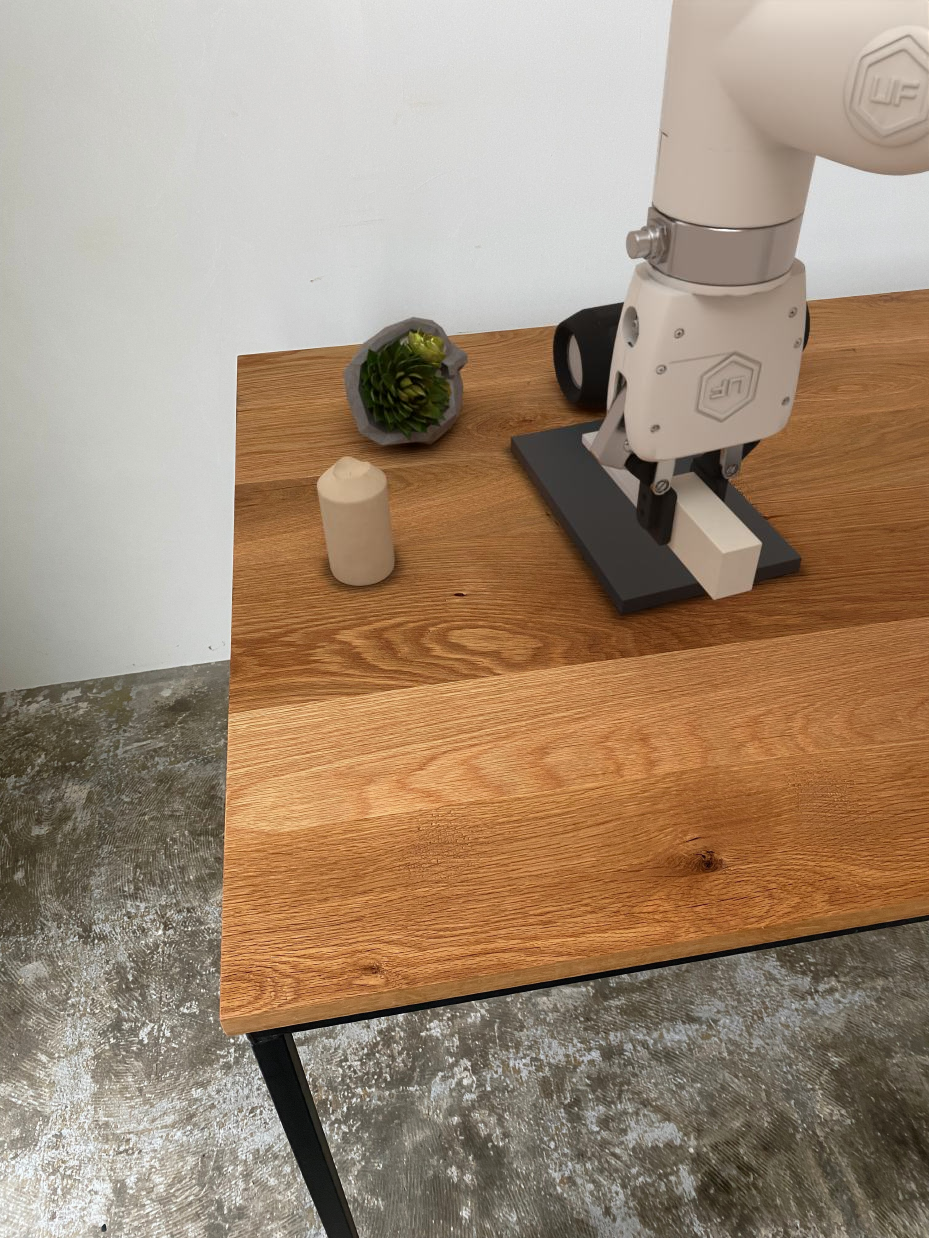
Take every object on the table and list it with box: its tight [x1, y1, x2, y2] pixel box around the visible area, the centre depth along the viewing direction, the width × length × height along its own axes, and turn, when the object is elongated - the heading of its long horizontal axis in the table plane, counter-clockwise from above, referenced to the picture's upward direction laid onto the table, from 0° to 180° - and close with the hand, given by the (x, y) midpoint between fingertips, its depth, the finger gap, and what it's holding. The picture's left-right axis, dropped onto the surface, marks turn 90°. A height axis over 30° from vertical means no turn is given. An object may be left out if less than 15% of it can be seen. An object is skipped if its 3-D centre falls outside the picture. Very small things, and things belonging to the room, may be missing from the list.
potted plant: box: [342, 316, 469, 446], centre depth 91 cm, size 12×13×15 cm
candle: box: [316, 455, 396, 587], centre depth 76 cm, size 6×6×10 cm
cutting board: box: [510, 418, 803, 615], centre depth 84 cm, size 16×26×2 cm, turn 18°
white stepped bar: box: [582, 431, 762, 601], centre depth 61 cm, size 19×3×4 cm, turn 19°
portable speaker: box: [552, 301, 811, 408], centre depth 98 cm, size 26×10×10 cm, turn 108°
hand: (677, 525), depth 60 cm, fingers closed on white stepped bar, 2 cm apart
